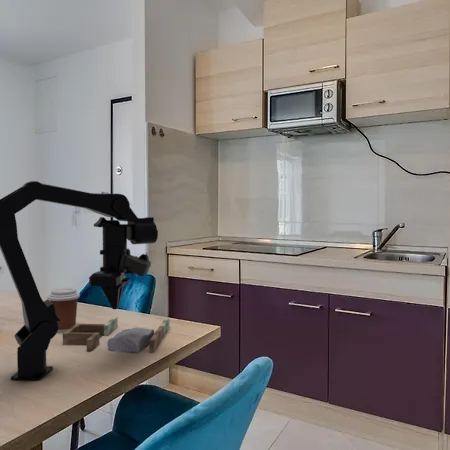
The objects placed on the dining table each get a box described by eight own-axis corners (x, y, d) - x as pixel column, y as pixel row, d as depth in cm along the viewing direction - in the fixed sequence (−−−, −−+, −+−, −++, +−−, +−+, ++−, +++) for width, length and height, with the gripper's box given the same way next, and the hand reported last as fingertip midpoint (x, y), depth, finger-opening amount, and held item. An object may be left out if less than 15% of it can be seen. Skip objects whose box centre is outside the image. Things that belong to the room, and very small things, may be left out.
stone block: (105, 358, 105) (140, 353, 103) (101, 339, 105) (137, 334, 103) (125, 345, 117) (157, 340, 115) (122, 328, 117) (154, 323, 115)
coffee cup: (86, 326, 127) (86, 288, 127) (65, 334, 118) (65, 293, 118) (62, 323, 130) (62, 286, 130) (41, 331, 122) (40, 291, 121)
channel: (153, 352, 104) (153, 340, 104) (54, 350, 105) (54, 339, 105) (169, 327, 126) (169, 317, 126) (87, 326, 127) (87, 316, 127)
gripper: (137, 249, 90) (138, 319, 91) (155, 242, 109) (156, 300, 109) (87, 249, 91) (88, 318, 91) (114, 242, 109) (114, 300, 110)
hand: (115, 308), depth 100 cm, fingers closed
